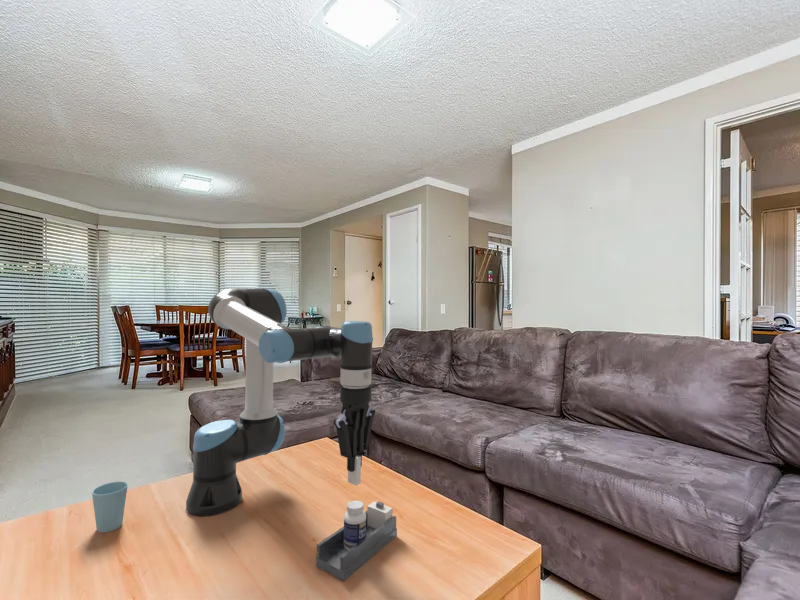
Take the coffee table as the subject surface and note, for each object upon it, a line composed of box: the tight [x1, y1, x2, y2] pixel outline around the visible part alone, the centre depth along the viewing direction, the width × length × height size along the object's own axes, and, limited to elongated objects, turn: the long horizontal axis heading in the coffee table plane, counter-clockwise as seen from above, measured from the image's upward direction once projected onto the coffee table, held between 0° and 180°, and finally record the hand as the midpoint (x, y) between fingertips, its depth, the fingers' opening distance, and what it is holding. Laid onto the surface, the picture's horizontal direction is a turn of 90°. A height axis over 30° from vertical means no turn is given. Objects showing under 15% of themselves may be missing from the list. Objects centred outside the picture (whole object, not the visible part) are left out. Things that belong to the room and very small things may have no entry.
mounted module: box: [366, 501, 394, 529], centre depth 102 cm, size 6×3×6 cm, turn 55°
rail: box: [315, 510, 398, 582], centre depth 95 cm, size 8×20×5 cm, turn 145°
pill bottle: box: [343, 500, 366, 550], centre depth 94 cm, size 5×5×10 cm
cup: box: [91, 481, 129, 533], centre depth 105 cm, size 8×8×10 cm
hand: (354, 482), depth 94 cm, fingers closed
